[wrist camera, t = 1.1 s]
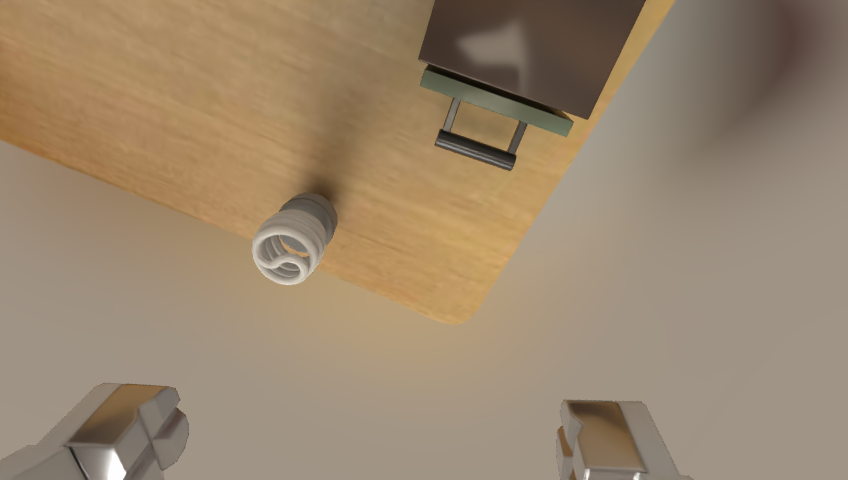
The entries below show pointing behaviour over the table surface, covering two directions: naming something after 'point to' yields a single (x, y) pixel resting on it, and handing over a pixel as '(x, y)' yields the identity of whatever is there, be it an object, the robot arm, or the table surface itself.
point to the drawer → (492, 101)
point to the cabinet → (533, 46)
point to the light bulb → (294, 238)
